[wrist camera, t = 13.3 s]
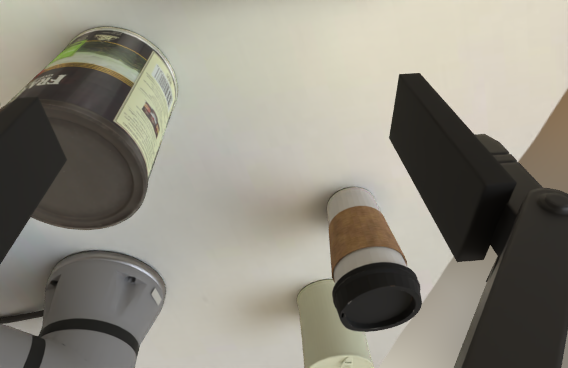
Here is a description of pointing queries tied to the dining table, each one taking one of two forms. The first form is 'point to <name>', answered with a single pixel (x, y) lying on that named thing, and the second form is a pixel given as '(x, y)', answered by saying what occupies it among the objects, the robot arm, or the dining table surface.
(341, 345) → the can
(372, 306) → the coffee cup
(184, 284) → the dining table surface
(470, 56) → the dining table surface
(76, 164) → the coffee can
